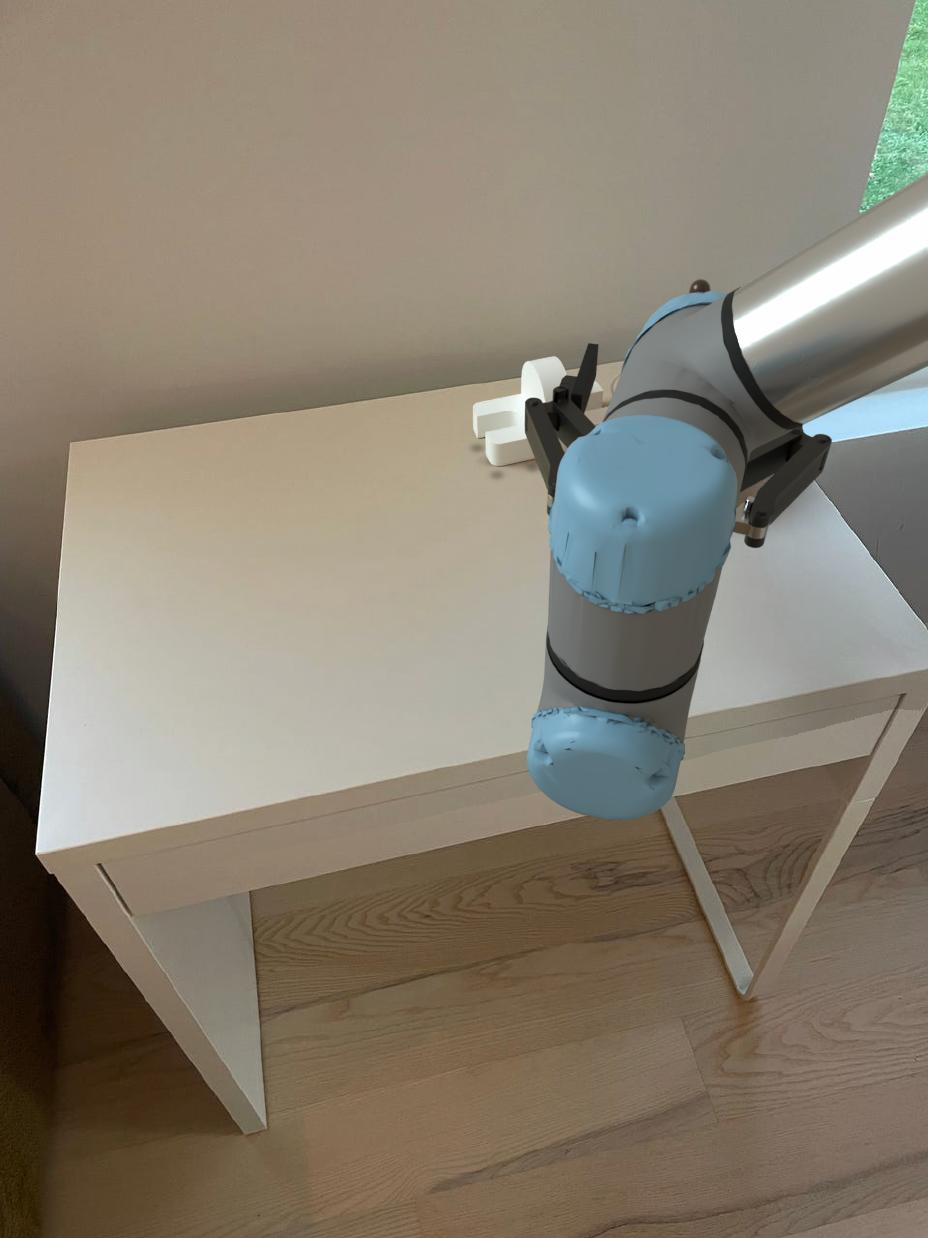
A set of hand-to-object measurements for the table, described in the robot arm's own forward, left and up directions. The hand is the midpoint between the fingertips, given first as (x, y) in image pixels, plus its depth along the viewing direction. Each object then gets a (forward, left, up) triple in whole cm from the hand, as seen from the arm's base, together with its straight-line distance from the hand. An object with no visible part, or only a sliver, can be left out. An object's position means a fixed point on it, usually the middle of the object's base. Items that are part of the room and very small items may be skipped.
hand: (685, 370), depth 70 cm
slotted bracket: (+15, -12, -18) cm, 26 cm away
